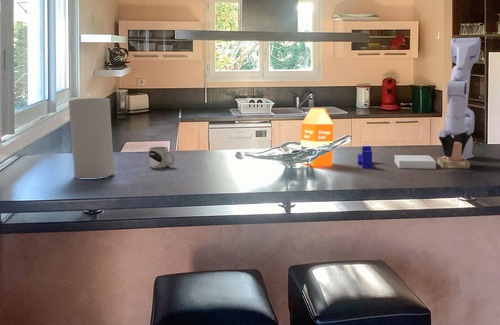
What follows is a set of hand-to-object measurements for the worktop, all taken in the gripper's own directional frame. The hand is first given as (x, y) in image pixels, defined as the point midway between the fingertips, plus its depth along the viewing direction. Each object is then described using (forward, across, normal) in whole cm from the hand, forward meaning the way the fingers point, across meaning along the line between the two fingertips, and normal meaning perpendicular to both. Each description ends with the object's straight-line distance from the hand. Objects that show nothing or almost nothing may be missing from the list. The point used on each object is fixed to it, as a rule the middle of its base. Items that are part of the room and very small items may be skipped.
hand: (453, 155), depth 185 cm
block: (+3, 0, 0) cm, 3 cm away
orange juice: (+4, +36, -30) cm, 47 cm away
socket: (+3, 0, 0) cm, 3 cm away
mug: (+4, +81, -60) cm, 101 cm away
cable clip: (+4, +23, -19) cm, 30 cm away
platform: (+3, +10, -8) cm, 13 cm away
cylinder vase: (+4, +106, -59) cm, 122 cm away
